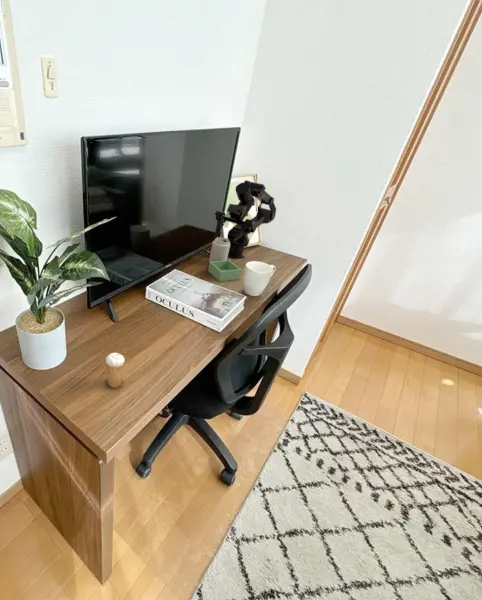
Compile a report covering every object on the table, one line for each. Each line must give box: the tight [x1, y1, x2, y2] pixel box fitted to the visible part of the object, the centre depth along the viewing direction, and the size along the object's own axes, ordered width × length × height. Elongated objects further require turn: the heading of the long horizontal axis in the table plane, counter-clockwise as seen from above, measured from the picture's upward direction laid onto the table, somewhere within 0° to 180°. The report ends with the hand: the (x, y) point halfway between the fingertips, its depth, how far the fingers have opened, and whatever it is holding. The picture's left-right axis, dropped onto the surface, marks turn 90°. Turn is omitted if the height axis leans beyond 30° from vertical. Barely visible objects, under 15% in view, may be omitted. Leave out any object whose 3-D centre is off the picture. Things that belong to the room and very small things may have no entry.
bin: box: [207, 259, 242, 282], centre depth 135 cm, size 9×9×4 cm
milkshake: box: [105, 352, 126, 389], centre depth 79 cm, size 4×5×10 cm
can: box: [208, 236, 230, 264], centre depth 142 cm, size 8×8×12 cm
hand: (224, 237), depth 139 cm, fingers open, 9 cm apart
